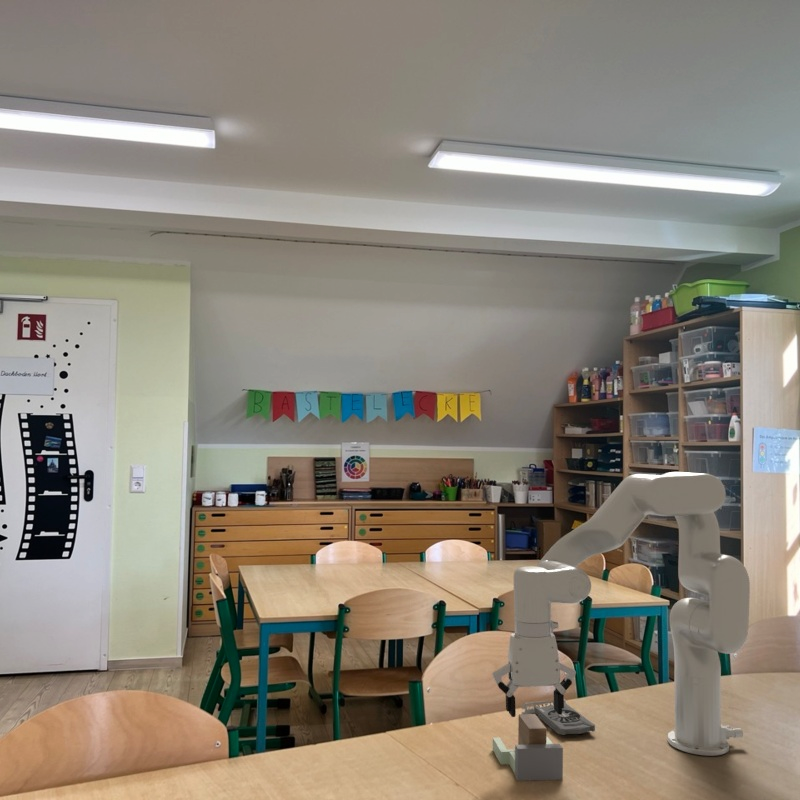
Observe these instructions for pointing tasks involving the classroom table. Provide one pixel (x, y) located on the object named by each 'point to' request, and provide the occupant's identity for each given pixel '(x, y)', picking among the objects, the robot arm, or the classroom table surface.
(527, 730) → the brown wooden block
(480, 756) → the classroom table surface
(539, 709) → the graphics card
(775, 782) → the classroom table surface
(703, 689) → the robot arm
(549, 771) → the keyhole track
